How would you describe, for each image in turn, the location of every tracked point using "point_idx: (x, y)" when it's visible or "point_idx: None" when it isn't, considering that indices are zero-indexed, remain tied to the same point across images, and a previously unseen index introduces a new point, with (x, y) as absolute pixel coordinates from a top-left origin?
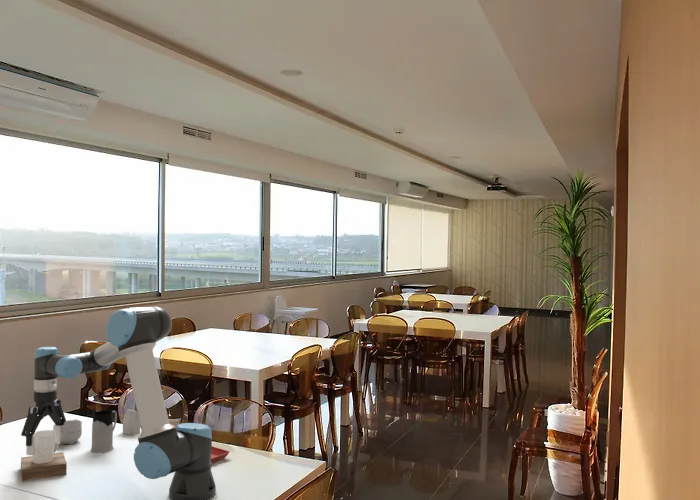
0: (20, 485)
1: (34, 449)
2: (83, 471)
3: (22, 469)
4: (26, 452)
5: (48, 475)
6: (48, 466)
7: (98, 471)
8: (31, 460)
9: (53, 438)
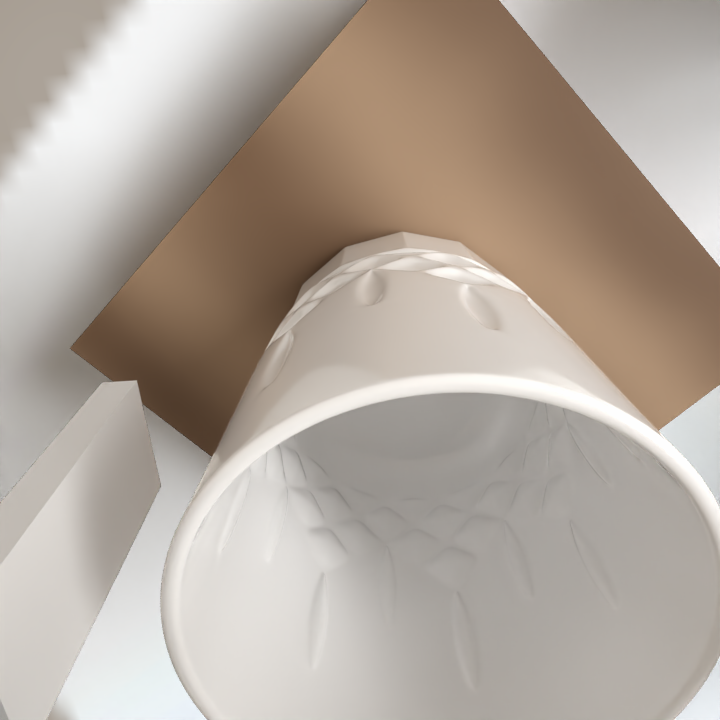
0: (36, 370)
1: (134, 535)
2: None
3: (71, 348)
4: (87, 401)
5: None
6: None
7: None
8: (370, 198)
9: (457, 713)
